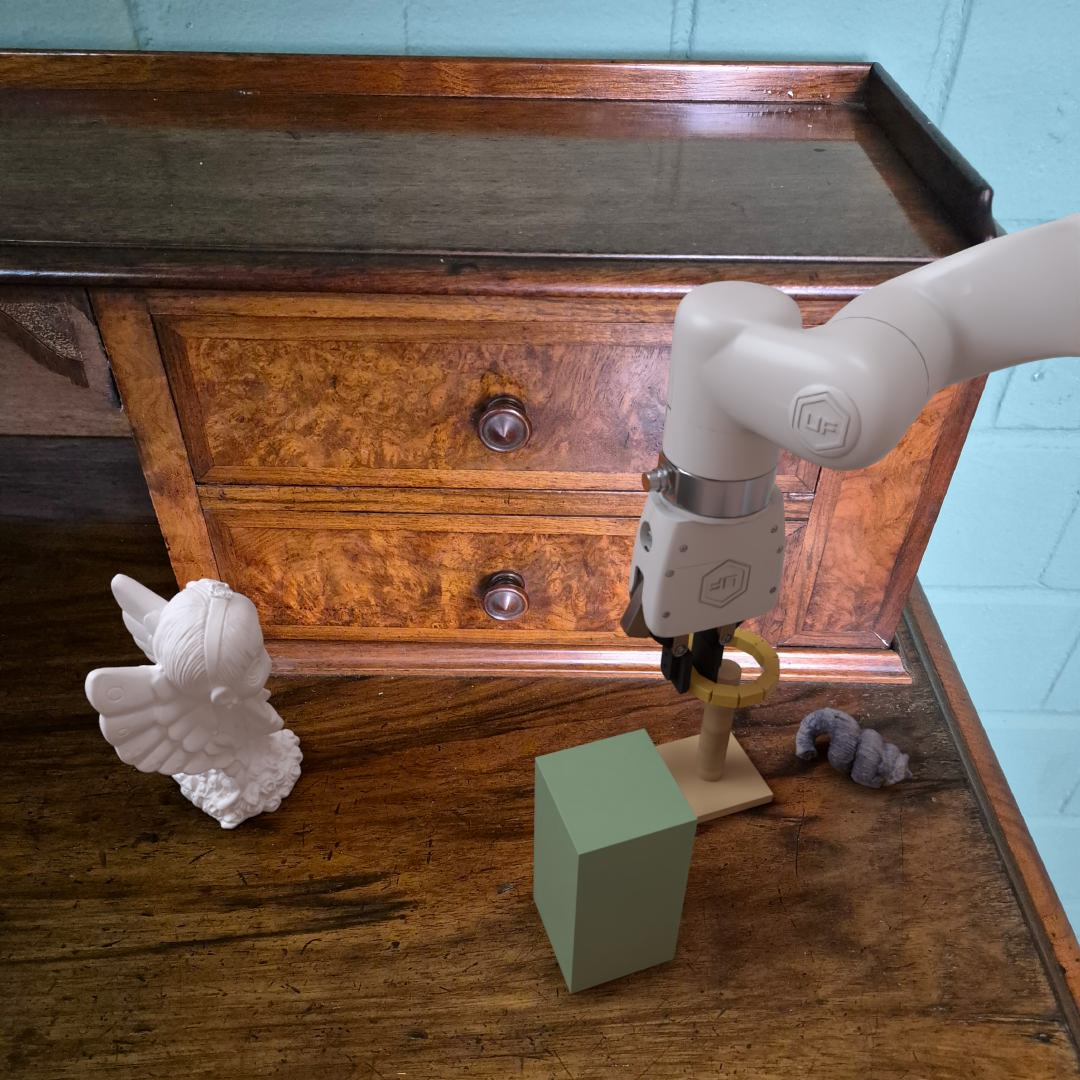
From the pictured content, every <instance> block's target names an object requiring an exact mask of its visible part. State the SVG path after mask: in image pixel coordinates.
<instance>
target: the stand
mask: <svg viewBox="0 0 1080 1080" xmlns="http://www.w3.org/2000/svg"><path fill="white" fill-rule="evenodd" d="M655 746H656V744H654V742H653V740H652V738H651V737H650V734H649V733H648V731H647V730H646V728H639V729H637V730H633V731H629V732H625V733H622V734H617V735H615V736H610V737H607V738H603V739H599V740H595V741H592V742H587V743H583V744H580V745H577V746H573V747H569V748H565V749H562V750H557V751H555V752H550V753H546V754H543V755H539V756H536V757H535V758H534V810H533V811H534V813H533V814H534V816H533V817H534V819H533V820H534V821H533V822H534V823H533V826H534V827H533V892H532V893H533V894H532V895H533V897H532V898H533V901H534V903H535V906H536V909H537V911H538V914H539V916H540V919H541V921H542V925H543V926H544V929H545V931H546V934H547V937H548V939H549V942H550V944H551V947H552V951H553V953H554V955H555V957H556V960H557V963H558V965H559V968H560V971H561V974H562V976H563V978H564V981H565V983H566V986H567V988H568V991H569V994H570V995H572V994H576V993H579V992H581V991H584V990H587V989H589V988H593V987H595V986H599V985H601V984H605V983H608V982H611V981H613V980H616V979H619V978H621V977H622V978H623V977H625V976H628V975H631V974H634V973H637V972H639V971H640V972H641V971H643V970H645V969H649V968H651V967H654V966H657V965H660V964H663V963H667V962H669V961H672V960H674V959H675V953H676V947H677V942H678V936H679V930H680V924H681V918H682V913H683V907H684V902H685V896H686V890H687V884H688V878H689V873H690V868H691V867H690V866H691V861H692V855H693V849H694V843H695V838H696V832H697V827H698V824H697V821H698V818H697V817H696V815H695V813H694V812H693V810H692V808H691V807H690V805H689V803H688V801H687V800H686V798H685V796H684V795H683V793H682V791H681V790H680V788H679V786H678V784H677V783H676V781H675V779H674V778H673V776H672V774H671V772H670V771H669V769H668V767H667V766H666V764H665V762H664V761H663V759H662V757H661V755H660V754H659V752H658V750H657V749H656V747H655Z"/></svg>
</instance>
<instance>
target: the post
mask: <svg viewBox="0 0 1080 1080" xmlns="http://www.w3.org/2000/svg"><path fill="white" fill-rule="evenodd" d="M742 672H743V670H742V667H741V665H740V664H739V663H738V662H737V661H735V660H733V659H730V658H722V664H721V667H720V668H719V672H718V678H717V684H724V685H731V686H738V685H741V678H742V674H743V673H742ZM735 711H736V708H730V707H723V706H716V705H711V701H710V702H709V703H706V702H704V708H703V713H702V722H701V726H700V733H699V734H695V735H692V736H688V737H685V738H680V739H677V740H674V741H669V742H665V743H662V744H659V745H655V747H656V749H657V750H658V752H659V754H660V755H661V757H662V759H663V761H664V762H665V764H666V766H667V767H668V769H669V771H670V772H671V774H672V776H673V778H674V779H675V781H676V783H677V784H678V786H679V788H680V790H681V791H682V793H683V795H684V796H685V798H686V800H687V801H688V803H689V805H690V807H691V808H692V810H693V812H694V813H695V815H696V817H697V818H698V821H697V825H698V824H702V823H705V822H708V821H711V820H715V819H718V818H722V817H724V816H728V815H731V814H735V813H739V812H741V811H745V810H748V809H752V808H754V807H758V806H762V805H764V804H767V803H772V802H773V797H774V793H773V791H772V790H771V788H770V787H769V786H768V784H767V782H766V781H765V779H764V778H763V776H762V775H761V774H760V772H759V771H758V769H757V768H756V766H755V765H754V763H753V762H752V761H751V759H750V758H749V756H748V754H747V753H746V752H745V750H744V749H743V747H742V746H741V744H740V743H739V741H738V740H737V738H736V737H735V735H734V734H733V732H732V726H733V721H734V715H735Z"/></svg>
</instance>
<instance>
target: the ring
mask: <svg viewBox="0 0 1080 1080" xmlns="http://www.w3.org/2000/svg"><path fill="white" fill-rule="evenodd" d="M693 634H694V633H690V634H689V643H688V648H689V649H690V651H691V648H692V641H693ZM724 647H728V648H736V649H738V650H739V651H741V652H744V653H746V654H748V655H749V656H751V657H752V658H753V659H754V660H755V662H756V663H757V664H758V666H759V667H760V668H761V674H760V675H759V676H758V677H757V678H756V679H755V680H754V681H751V682H747V683H743V684H740V685H738V686H731V685H724V684H717V683H714V682H712V681H711V680H709V679H707V678H705V677H703V676H701V675H700V674H699V673H698V672H697V670H696V669H695V668H694V666H693V665H692V672H691V680H690V687H689V690H688V691H687V693H688V694H690V695H692V696H693V697H695V698H697V699H699V700H701V701H702V702H703V703H705V702H706V703H709V702H710V701H711V705H716V706H723V707H730V708H735V709H737V707H738V708H739V709H742V708H747V707H751V706H754V705H758V704H761V703H763V701H764V702H765V701H766V700H767V699H768V698H769V697H770V696H771V695H772V693H774V691H775V690H776V689H777V688H778V685H779V681H780V678H781V677H780V676H781V663H780V661H781V660H780V657H779V655H778V653H777V651H776V650H774V648H773V646H771V645H770V643H769V642H768V640H765V639H764V638H763V637H762V636H760V635H758V634H756V633H753V632H751V631H749V630H748V629H745V628H743V629H741V627H740V626H739V627H738V628H737V629H736V630H735V633H734V638H733V640H732V641H731V642H730V643H729V644H727V645H725V646H724Z"/></svg>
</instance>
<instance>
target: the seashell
mask: <svg viewBox="0 0 1080 1080" xmlns="http://www.w3.org/2000/svg"><path fill="white" fill-rule="evenodd" d="M828 734H829V737H830V741H829V743H828V744H829V745H830V746H829V747H828V750H827V759H828V761H829V763H830V765H831V767H832V768H834V769H835V770H836V771H838V772H840V773H842V774H844V773H851V775H850V777H851V779H852V780H853V781H854V782H855V783H858V784H860V785H862V786H865V787H869V788H873V789H879V788H881V786H885V787H889V786H892V785H895V784H897V783H899V782H901V781H903V780H904V779H909V778H910V779H912V778H913V777H914V774H913V773H912V771H910V769H909V762H910V755H909V753H902V752H901V751H900V747H899V746H898V744H894V743H889V742H884V739H883V736H882V735H881V734H880V733H879V732H877V731H876V730H875V729H873V728H869V729H868V728H862V729H861V727H860V724H859V723H858V721H856V719H855V718H854V717H853V716H851V715H850V714H848V713H847V712H845V711H842V710H838V709H836V708H835V707H833V708H831V707H829V706H825V707H824V708H820V709H816V710H814V711H811V712H810V713H809V714H808V715H806V716H804V718H803V719H802V721H801V722H800V726H799V728H798V731H797V733H796V738H795V756H797V757H799V758H800V759H803V760H806V761H811V760H812V758H814V757H817V756H818V754H819V753H818V751H817V749H816V747H815V746H816V741H817V739H818V738H819V737H821V736H825V735H828Z"/></svg>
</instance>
